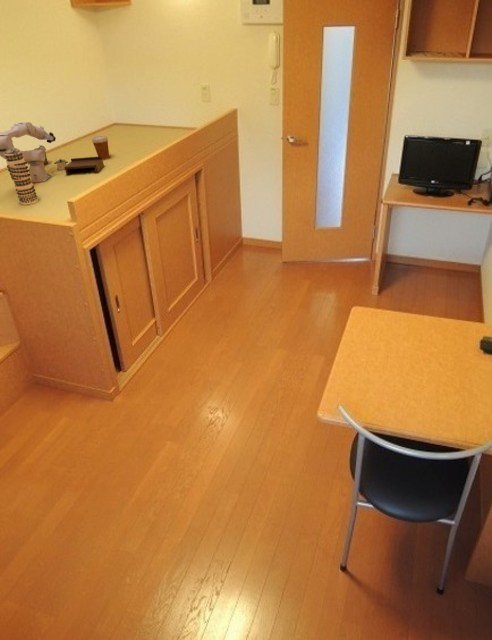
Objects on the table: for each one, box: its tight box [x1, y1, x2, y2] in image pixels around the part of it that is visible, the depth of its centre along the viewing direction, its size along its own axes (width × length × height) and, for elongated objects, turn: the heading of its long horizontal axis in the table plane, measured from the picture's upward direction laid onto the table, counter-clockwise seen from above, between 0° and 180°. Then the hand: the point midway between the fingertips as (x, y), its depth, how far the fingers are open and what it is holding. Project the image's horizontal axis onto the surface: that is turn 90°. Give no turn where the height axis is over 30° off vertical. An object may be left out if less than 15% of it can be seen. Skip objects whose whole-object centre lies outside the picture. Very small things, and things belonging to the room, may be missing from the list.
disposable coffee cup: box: [91, 135, 110, 160], centre depth 293 cm, size 10×10×12 cm
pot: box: [53, 158, 69, 171], centre depth 282 cm, size 5×8×5 cm
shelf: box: [64, 156, 105, 176], centre depth 275 cm, size 13×18×6 cm
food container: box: [29, 144, 49, 167], centre depth 292 cm, size 12×6×10 cm, turn 168°
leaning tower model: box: [4, 147, 39, 206], centre depth 232 cm, size 9×9×25 cm
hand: (48, 136), depth 276 cm, fingers open, 7 cm apart
